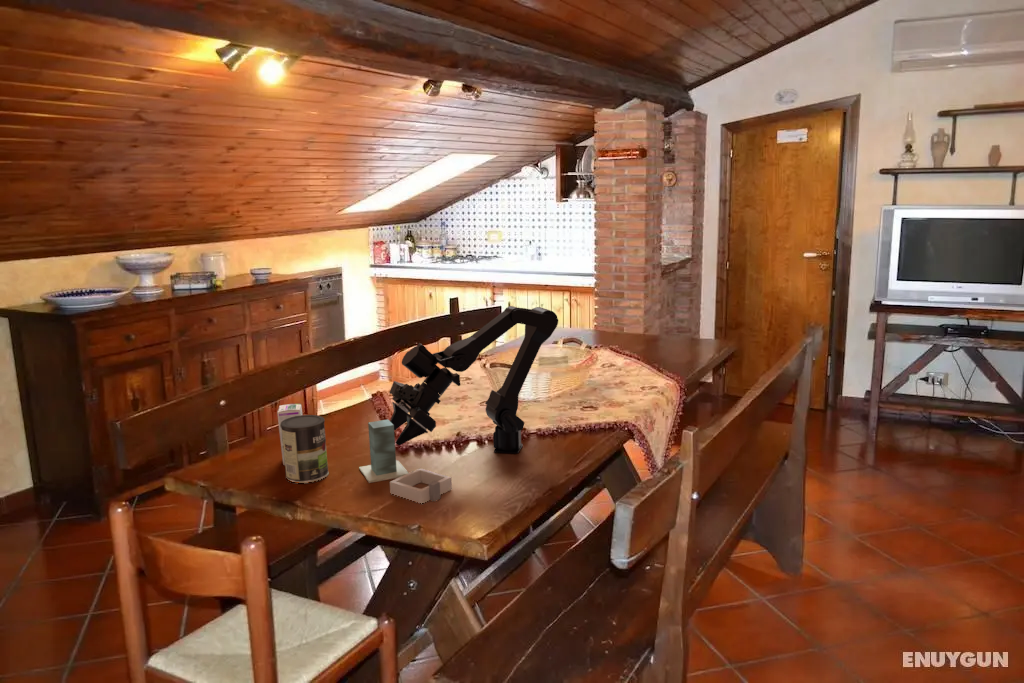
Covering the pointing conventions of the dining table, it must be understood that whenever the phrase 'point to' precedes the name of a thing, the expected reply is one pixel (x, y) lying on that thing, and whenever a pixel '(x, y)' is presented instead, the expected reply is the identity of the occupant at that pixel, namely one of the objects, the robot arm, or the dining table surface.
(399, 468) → the mat
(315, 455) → the coffee can
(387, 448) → the post
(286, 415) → the syrup box
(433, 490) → the collar
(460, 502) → the dining table surface
